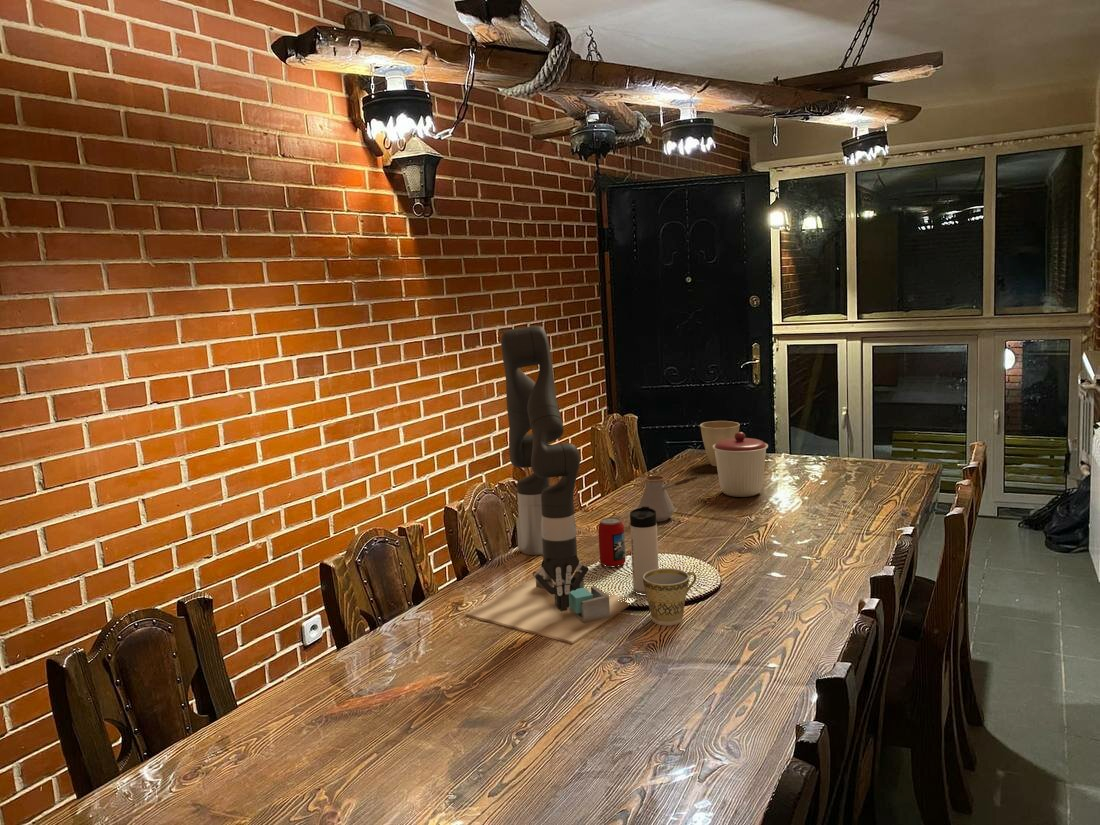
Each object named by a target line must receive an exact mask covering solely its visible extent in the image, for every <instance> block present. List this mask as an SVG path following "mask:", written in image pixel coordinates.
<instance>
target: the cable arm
mask: <svg viewBox="0 0 1100 825" xmlns="http://www.w3.org/2000/svg"><path fill="white" fill-rule="evenodd" d="M540 568H541V566H540V567H539V569H540ZM545 576H546V577H545V580H552V579H551V578H550V577H549V575H548V574H547V573H546V572H545ZM586 588H587V587H584V588H579V589H576V590H575V591H574V590H573V591H571V592H570V593H569V607H570V608H571V609H573V610H574V611H575V612H576V613H577V614H579V613H581V601H584V600H589V599H593V595H592V594H591V593H590V592H589V591H588V590H587V589H586Z"/></svg>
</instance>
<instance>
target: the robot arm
mask: <svg viewBox="0 0 1100 825" xmlns="http://www.w3.org/2000/svg"><path fill="white" fill-rule="evenodd" d="M500 346H501V347H500V348H501V355H502V356H501V357H502V361H503V368H504V374H505V375H504V376H505V385H506V386H505V388H506V390H505V391H506V392H505V393H506V398H505V399H506V410H507V411H506V412H507V418H508V427H509V428H508V430H509V433H508V434H509V435H508V453H509V460H510V462H511V464H512V466H513V467H514V468H518V469H525V468H531V469H532V472H533V473H531V474H529V475H527V476H526V477H523V478H521V479H519V480H518V481H517V483H516V492H517V494H516V495H517V504H518V505H517V506H518V508H517V509H518V517H516V520H515V521H516V532H517V534H516V536H517V548H518V549H517V550H518V551H519V552H521V553H522V554H525V555H528V556H529V555H530V556H541V555H542V561H541V566H540V567H541V568H540V567H539V569H538V570H536V571H534V572H532V577H533V578H535V579H536V580H537V581H538V582H539V583H540V584H541V585H542V586H543V587H544V588H545V589H546V590H547V591H548V592H549V593H550V594H555V606H556V608H557V609H559V610H560V611H566V610H567V608H568V607H569V593H570V592H571V591H573V590H574V591H575V590H576V589H577V588H578V586H579V585H580V583H581V581H582V580H583V578H585V577H586V575H587V574H588V572H589V571H590V570H589V567H588V566H587V565H586V564H585V563H581V562H580V559H579V557H578V545H577V524H576V518H575V505H574V504H575V503H574V502H575V501H574V500H575V499H574V494H575V493H574V492H575V487H576V481H577V479H578V474H579V470H580V465H581V453H580V451H579V449H578V447H577V446H576V445H575V444H573V443H570V442H562V443H553V444H549V443H552V442H554V441H557V440H559V439H560V438H561V437H562V436H563V435H564V431H565V429H564V423H563V420H562V417H561V412H560V408H559V405H558V404H559V403H558V400H557V394H556V384H555V374H554V368H553V367H554V366H553V360H552V353H551V347H550V346H551V345H550V342H549V338H548V334H547V332H546V330H545V328H544V327H543V326H541V325H531V326H525V327H524V326H523V327H519V328H512V329H508V330H506V331H504V332H503V333H502V334H501V340H500ZM538 365H539V366H538ZM531 366H538V368H539V369H538V370H539V372H538V376H537V378H536V381H534V380H533V379H532V378H531V377H529V375H527V374H526V373H524V372H523V371H522V369H521V368H527V367H531ZM530 430H531V433H529V431H530ZM557 477H560V480H559V481H558V482H557V483H555V484H553V485H551V484H550V483H551V482H550V478H557ZM545 572H546V573H547V574H548V575H549V577H550V578H551V579H552V583H553V587H551V586H550V585H549V584H548V583H547V582H546V581H545V580H544V579H545V577H546V576H545ZM572 575H573V577H572V579H571V576H572Z"/></svg>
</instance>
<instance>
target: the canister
mask: <svg viewBox="0 0 1100 825" xmlns="http://www.w3.org/2000/svg"><path fill="white" fill-rule="evenodd" d="M734 437H735V438H731V439H725V440H721V441H719V442H717V443H716V444H714V445H713V449H714V450H715V456H716V463H717V466H716V469H717V476H718V483H719V487H720V490H721V491H722V493H723V494H724V495H726V496H729V497H733V498H734V497H736V498H746V497H753V496H756V495H758V494H760V492H761V491H762V488H763V483H764V475H765V466H766V456H767V455H766V454H767V449H768V448H769V444H768V443H766V442H764V441H763V440H762V439H761V440H760V439H757V438H751V437H750V438H749V437H746V434H745V433H744V432H742V431H739V432H737V433H735V435H734Z"/></svg>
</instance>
